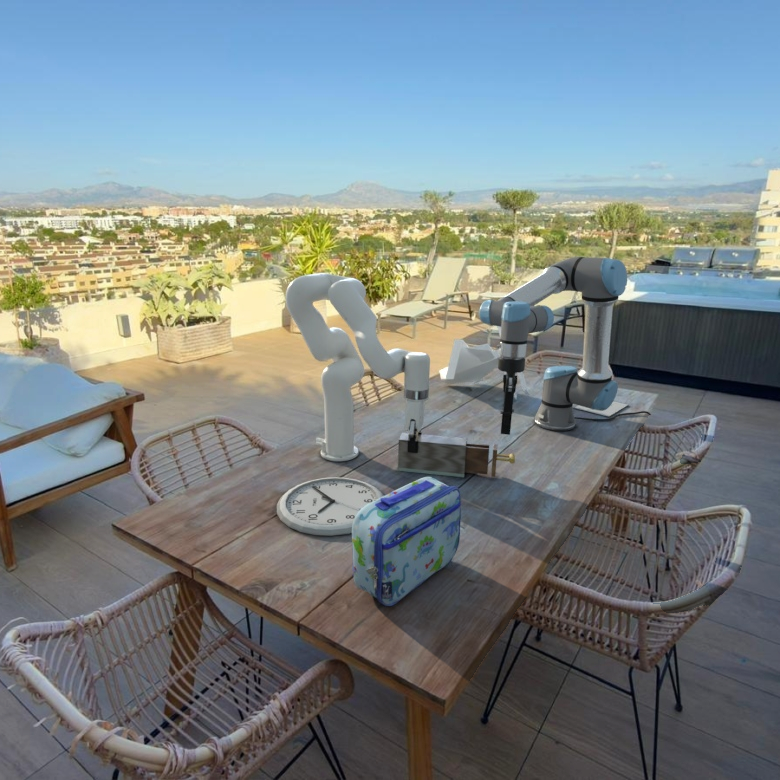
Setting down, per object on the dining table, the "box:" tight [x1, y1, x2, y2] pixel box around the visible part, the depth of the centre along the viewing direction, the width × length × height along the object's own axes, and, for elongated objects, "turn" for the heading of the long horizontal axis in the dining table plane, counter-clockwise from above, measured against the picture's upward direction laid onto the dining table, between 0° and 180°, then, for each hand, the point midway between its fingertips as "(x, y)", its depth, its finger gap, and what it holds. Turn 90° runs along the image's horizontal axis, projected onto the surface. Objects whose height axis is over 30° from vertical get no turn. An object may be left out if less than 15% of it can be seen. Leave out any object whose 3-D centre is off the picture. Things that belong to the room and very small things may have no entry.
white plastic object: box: [438, 326, 531, 400], centre depth 245 cm, size 37×45×31 cm
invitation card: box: [573, 400, 629, 418], centre depth 226 cm, size 21×1×15 cm
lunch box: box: [351, 476, 462, 607], centre depth 111 cm, size 26×11×21 cm, turn 135°
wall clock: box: [276, 476, 385, 537], centre depth 142 cm, size 30×2×30 cm
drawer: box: [465, 442, 516, 478], centre depth 161 cm, size 25×5×9 cm, turn 78°
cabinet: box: [397, 432, 468, 478], centre depth 163 cm, size 21×6×10 cm, turn 78°
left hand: (414, 447), depth 164 cm, fingers closed on cabinet, 6 cm apart
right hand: (505, 433), depth 156 cm, fingers closed
